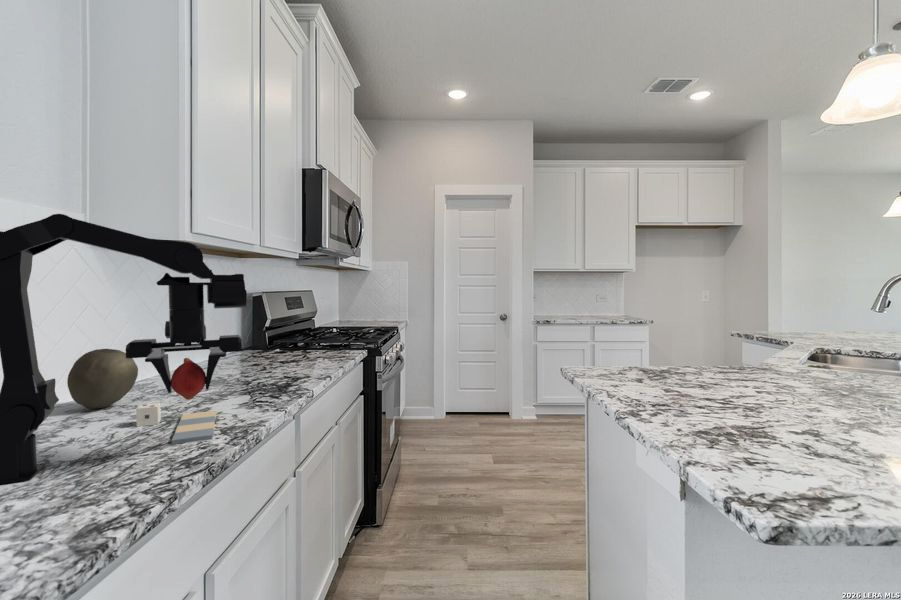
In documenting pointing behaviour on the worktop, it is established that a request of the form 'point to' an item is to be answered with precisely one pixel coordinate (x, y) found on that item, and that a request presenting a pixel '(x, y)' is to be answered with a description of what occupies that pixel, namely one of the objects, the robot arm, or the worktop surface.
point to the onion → (188, 379)
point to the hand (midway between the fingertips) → (189, 390)
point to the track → (195, 427)
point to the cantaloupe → (101, 378)
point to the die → (148, 414)
